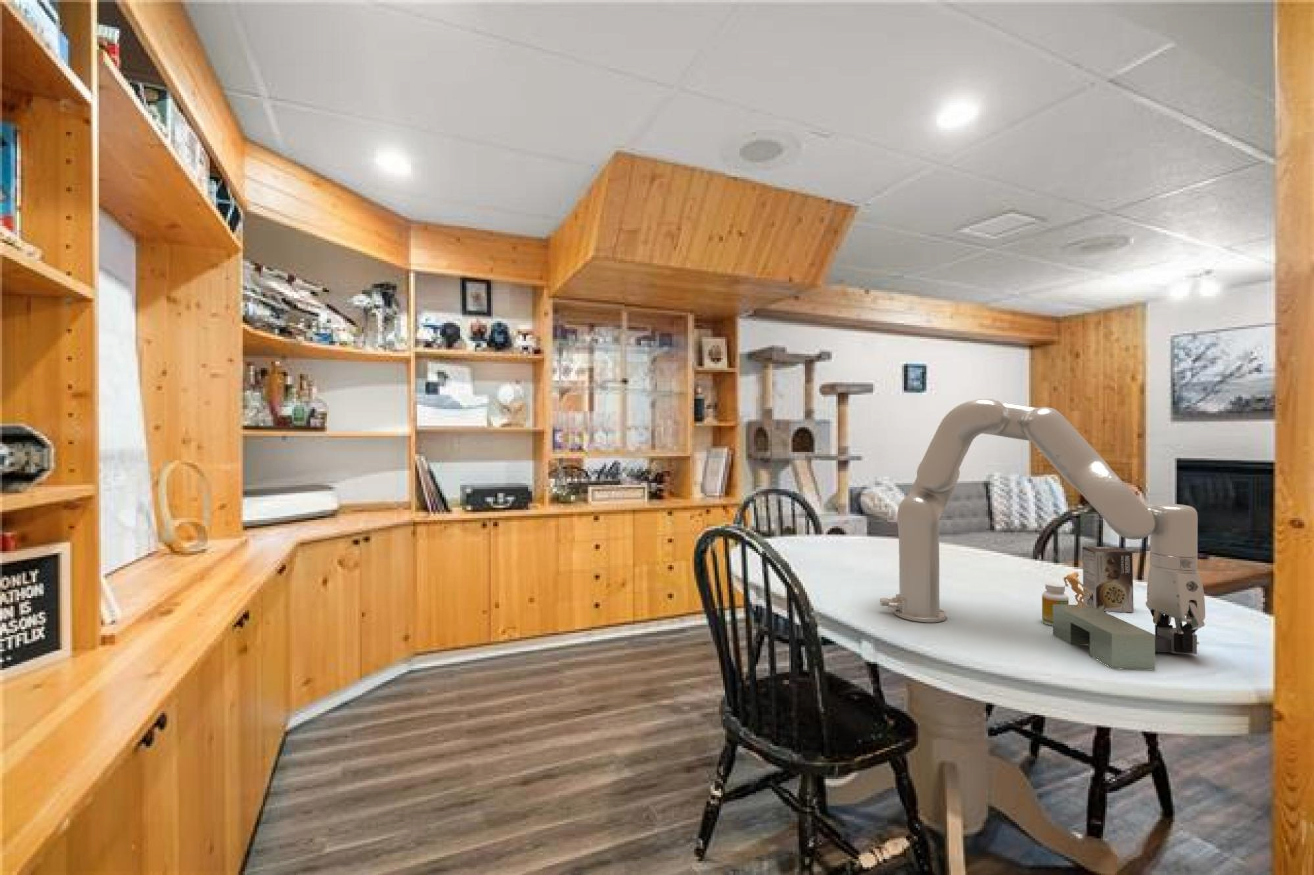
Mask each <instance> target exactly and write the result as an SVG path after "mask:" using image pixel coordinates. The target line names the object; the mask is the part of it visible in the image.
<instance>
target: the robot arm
mask: <svg viewBox="0 0 1314 875" xmlns="http://www.w3.org/2000/svg"><path fill="white" fill-rule="evenodd" d="M981 434H984V435H991V436H997V437H1003V438H1009V439H1015V440H1021V441H1027V442H1029V441H1031V443H1032V444H1033V445H1034V446H1035V447H1036V448H1037V449H1038V450H1039V451H1040V453H1041V454H1042V455H1043V456H1044V457H1045V458H1046V460H1047V461H1048V462H1049V463H1050V464H1051V466H1053V467H1054V469H1055V470H1056V471H1057V473H1059V474H1060V476H1062V477H1063V479H1064V480H1065V481H1066V482H1067V483H1068V484H1069V485H1070V486H1071V487H1073V488H1074V489H1076V491H1077V492H1079V493H1080V494H1081V496H1083V497H1084V499H1086V500H1087V502H1088V503H1089V504H1090V505H1091V506H1092V507H1093V508H1094V510H1095V511H1096V512H1097V513H1098V514H1099V515H1100V516H1101V517H1102V519H1104V521H1105V523H1106V525H1107V526H1108V527H1110V529H1111V530H1112V531H1113V532H1114V533H1116V534H1117V535H1118V536H1120V537H1121V538H1124V539H1126V540H1136V541H1138V540H1143V539H1144V538H1147V537H1149V538H1150V539H1149V540H1150V541H1149V544H1150V545H1149V551H1150V552H1149V553H1150V555H1149V556H1150V557H1149V558H1150V559H1149V560H1150V561H1149V562H1150V566H1149V569H1148V570H1149V571H1148V577H1147V584H1146V585H1147V586H1146V591H1147V592H1146V600H1147V601H1146V602H1145V606H1146V607H1147V609H1148V610H1149V612H1150V615H1151V617H1152V622H1153V624H1154V635H1157V627H1164V628H1174V627H1173V626H1174V625H1172V624H1171V622H1172V618H1173V619H1174V624H1175V628H1176V630H1177V633H1174V651H1175V652H1178V653H1177V654H1179V653H1192V652H1193V635H1194V634H1196V632H1197V631H1198V630H1199V629H1201V628H1203V627H1205V626H1206V625H1205V624H1206V623H1205V621H1204V620H1205V618H1206V604H1205V603H1206V601H1205V591H1204V586H1203V581H1202V580H1203V579H1202V577H1201V574H1200V572H1198V552H1199V550H1198V527H1199V526H1198V523H1199V522H1198V521H1199V520H1198V518H1199V517H1198V512H1197V510H1196V508H1194V507H1193V506H1190V505H1185V504H1178V503H1158V504H1155V503H1154V504H1153V503H1146V502H1142V501H1141V499H1139V497H1137V495H1136V494H1135V493H1134V492H1133V491H1132V489H1130V488H1129V487H1128V486H1127V484H1125V482H1124V481H1122V479H1121V478H1120V477H1119V476H1118V475H1117V474H1116V472H1115V471H1113V470H1112V468H1111V467H1110V465H1108V463H1107V462H1106V461H1105V459H1104V458H1103V457H1102V456H1101V455H1100V453H1098V452H1097V451H1096V450H1095V449H1094V448H1093V446H1092V445H1090V443H1088V441H1087V440H1086V439H1085V438H1084V436H1082V435H1081V434H1080V432H1079V431H1078V430H1076V428H1075V427H1074V426H1073V425H1072V423H1070V421H1069V420H1068V419H1067V418H1066V417H1065V416H1064V415H1063V414H1062V413H1061V412H1059V411H1058V410H1057V409H1055V408H1051V407H1048V406H1043V407H1042V406H1041V407H1033V406H1026V405H1025V406H1024V405H1018V404H1017V405H1016V404H1011V403H1004V402H1001V401H998V400H996V399H991V398H984V399H983V398H981V399H974V400H973V399H972V400H970V401H965V402H963V403H961V404H959V405H957V406H955V407H953V409H951V410H950V411H949V412H947V413H946V415H945V416H944V417H943V418H942V420H941V421H940V423H939V425H938V427H937V429H936V431H935V433H934V435H933V438H932V439H931V441H930V442H929V445H928V447H927V450H926V451H925V454H924V456H923V458H922V460H921V462H920V463H919V465H918V467H917V470H916V478H915V480H914V482H913V485H912V487H911V489H910V490H909V491H910V492H909V494H908V495H907V496H906V497H904V498H903V499H902V500H901V502H900V503H899V505H898V507H897V508H898V509H897V512H896V513H897V516H896V517H897V519H896V520H897V530H898V556H899V558H898V563H899V564H898V568H899V569H898V570H899V572H898V575H899V576H898V578H899V580H898V581H899V582H898V584H899V585H898V588H899V589H898V590H899V594H897V593H895V597H894V596H893V597H892V598H887V597H886V598H885V597H882V598H880V599H879V604H880V606H882V607H888V608H889V609H891V608H892V613H893V614H894V616H897V617H899V618H901V619H904V620H908V621H911V622H912V621H913V622H921V623H939V622H943V621H945V620H946V619H947V613H946V611H944V610H942V609H941V608H940V607H941V606H940V534H939V533H940V532H939V531H940V530H939V524H940V523H939V522H940V518H941V517H942V515H943V512H944V510H946V507H947V504H948V501H949V500H950V498H951V496H952V493H953V492H954V490H955V488H956V485H957V483H958V481H959V478H960V473H961V472H960V468H961V465H962V463H963V462H964V459H965V458H966V455H967V453H968V451H969V449H970V447H971V445H972V443H973V441H974V439H976V438H977V437H978V436H980V435H981ZM1183 622H1185V623H1184V625H1183Z"/></svg>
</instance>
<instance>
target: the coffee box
mask: <svg viewBox="0 0 1314 875" xmlns="http://www.w3.org/2000/svg"><path fill="white" fill-rule="evenodd" d="M1133 561H1134V560H1133V551H1130V550H1128V549H1125V548H1123V547H1118V546H1082V584H1083V585H1084V587H1085V588H1086V589H1087V590H1088V591H1089V592H1090V594H1091V596H1090V595H1089V593H1088V592H1087V591H1086V590H1085V589H1084V588H1083V587H1082V591H1083V592H1084V593H1085V594H1086V595H1085V597H1084V598H1083V599H1082V602H1083V603H1084V604H1087V605H1090V606H1092V607H1094V608H1097V609H1099V610H1101V611H1103V612H1104V611H1108V612H1109V613H1111V612H1112V613H1116V612H1117V613H1134V612H1135V611H1134V570H1133V568H1134V567H1133V565H1134V564H1133V563H1134V562H1133Z"/></svg>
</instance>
